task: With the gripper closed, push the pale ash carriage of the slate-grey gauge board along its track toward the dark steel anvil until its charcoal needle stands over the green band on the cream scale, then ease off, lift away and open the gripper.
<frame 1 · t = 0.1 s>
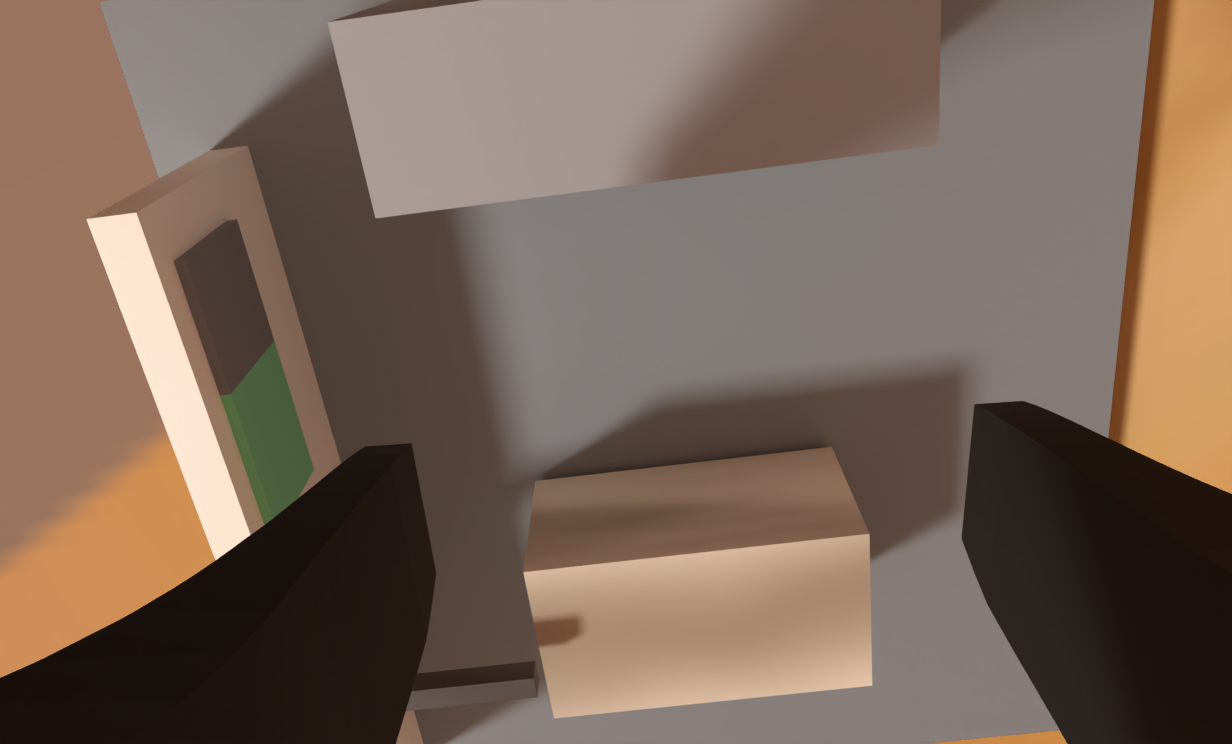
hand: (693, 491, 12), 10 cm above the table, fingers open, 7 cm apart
gauge board: (680, 456, 23), on the table
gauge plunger: (611, 604, 21), point 4 cm above the table, slide at 0.0 cm
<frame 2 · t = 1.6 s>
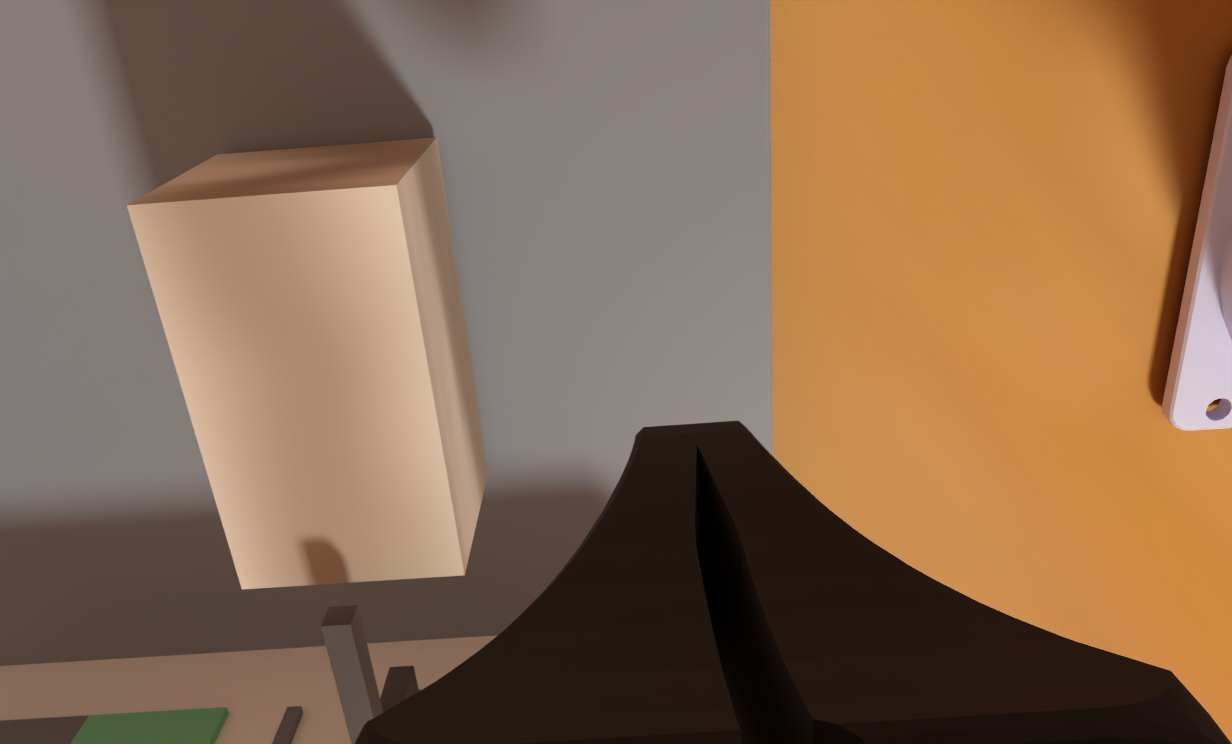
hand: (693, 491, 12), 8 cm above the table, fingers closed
gauge board: (305, 308, 20), on the table
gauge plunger: (352, 473, 17), point 4 cm above the table, slide at 0.0 cm
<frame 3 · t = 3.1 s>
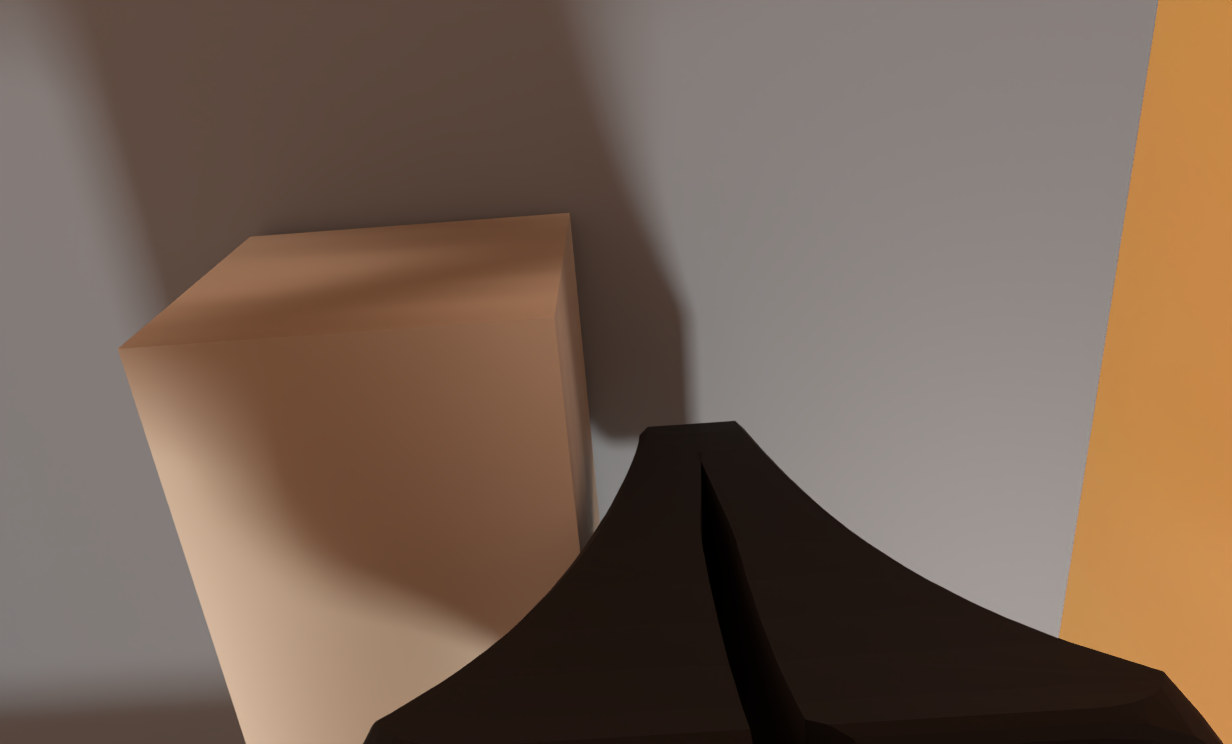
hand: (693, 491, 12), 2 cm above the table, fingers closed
gauge board: (428, 428, 14), on the table
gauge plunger: (445, 695, 12), point 4 cm above the table, slide at 1.0 cm, touching gripper
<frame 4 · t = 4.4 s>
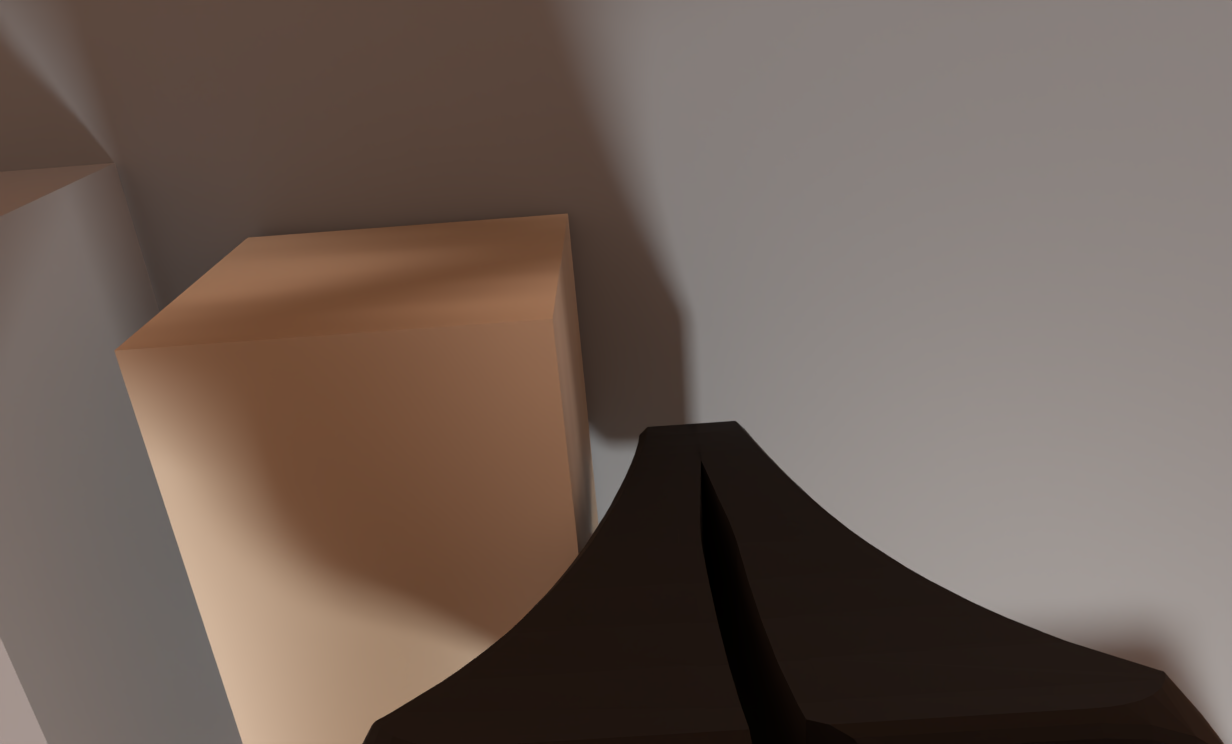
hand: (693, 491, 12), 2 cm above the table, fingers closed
gauge board: (781, 405, 14), on the table
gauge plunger: (444, 696, 12), point 4 cm above the table, slide at 6.3 cm, touching gripper
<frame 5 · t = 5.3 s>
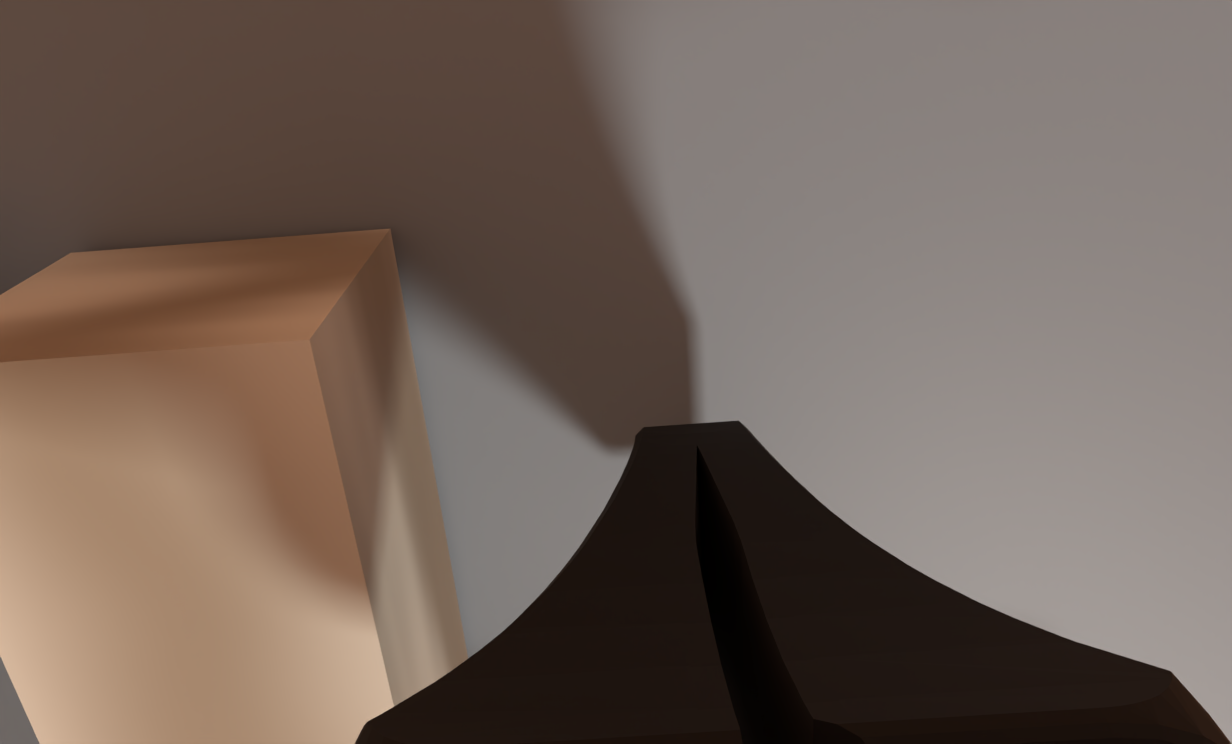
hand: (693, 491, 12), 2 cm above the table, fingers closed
gauge board: (635, 417, 14), on the table
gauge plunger: (270, 712, 12), point 4 cm above the table, slide at 6.3 cm
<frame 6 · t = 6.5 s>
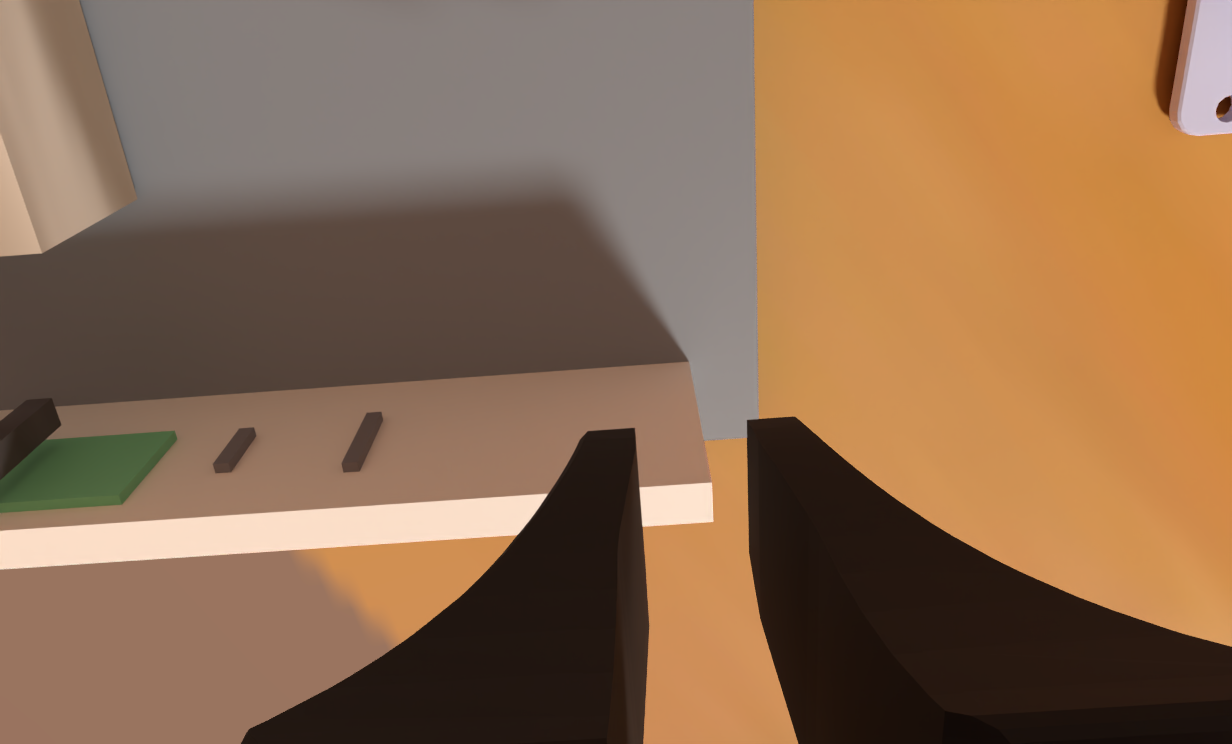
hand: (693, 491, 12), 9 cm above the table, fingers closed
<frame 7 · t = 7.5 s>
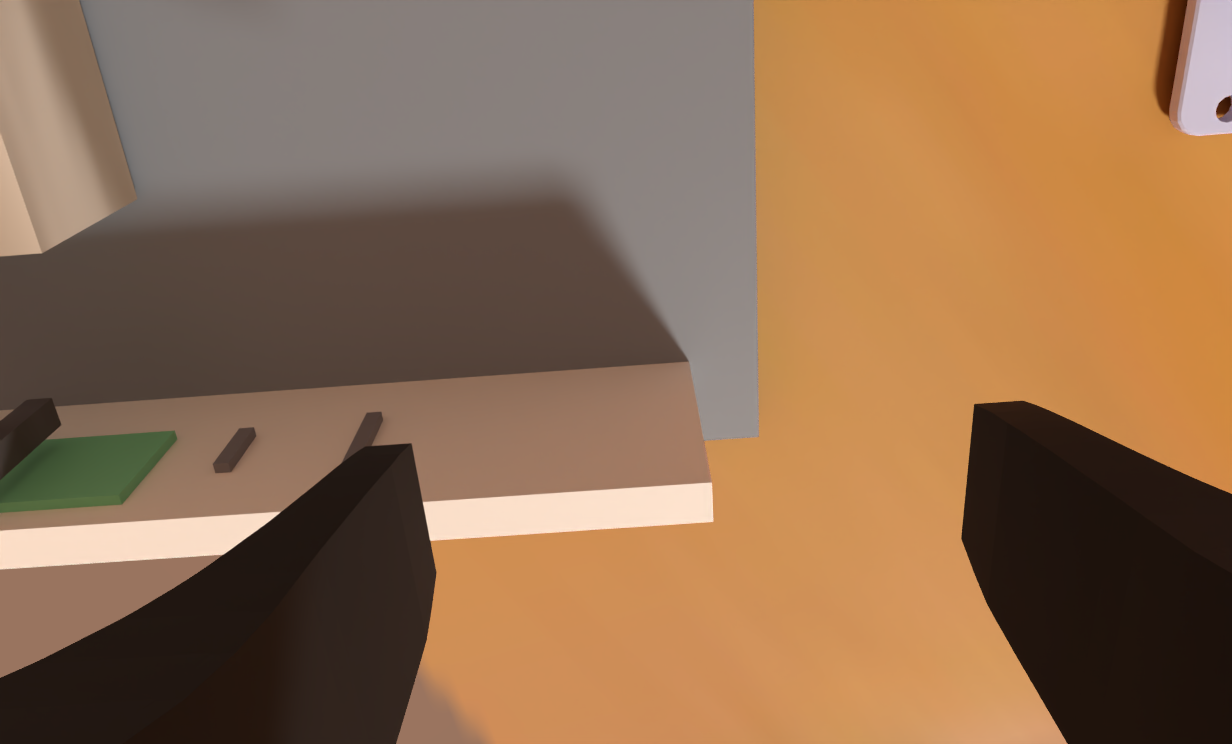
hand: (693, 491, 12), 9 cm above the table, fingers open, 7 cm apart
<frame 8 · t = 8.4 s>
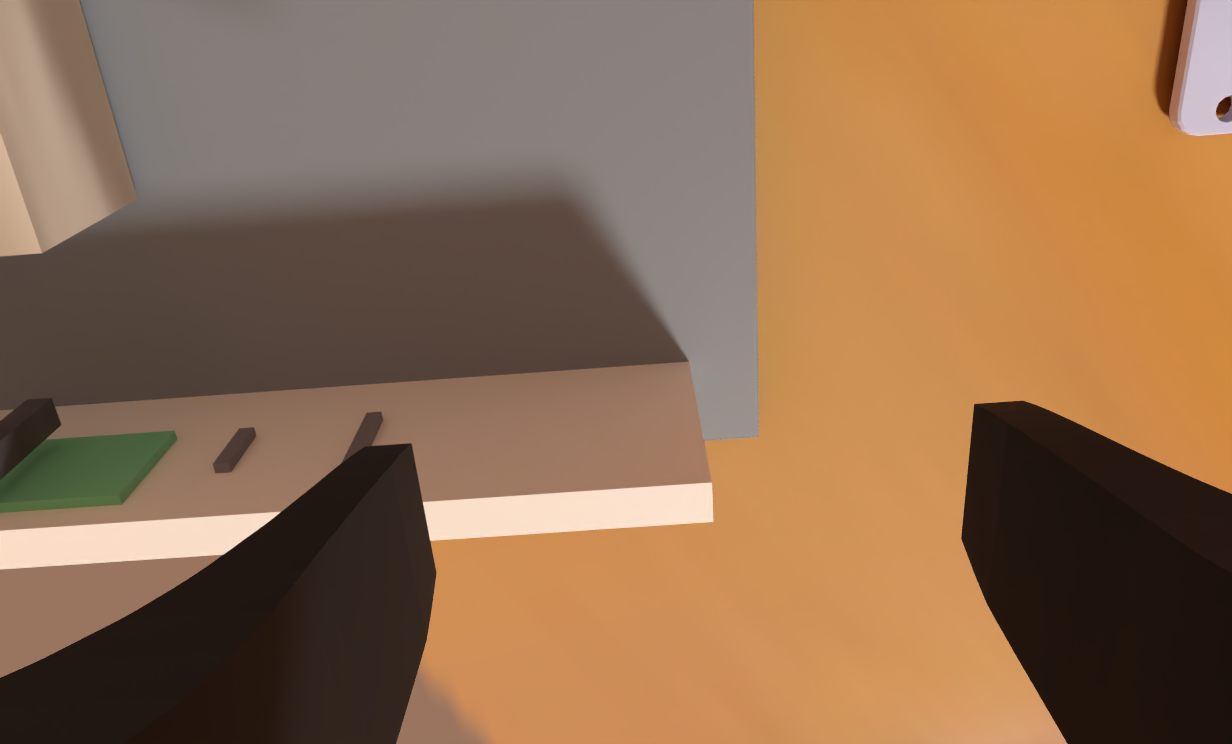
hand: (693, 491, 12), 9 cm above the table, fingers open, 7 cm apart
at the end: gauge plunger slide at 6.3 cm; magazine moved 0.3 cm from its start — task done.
